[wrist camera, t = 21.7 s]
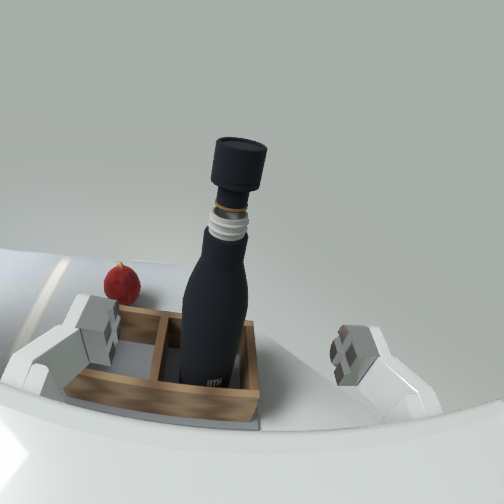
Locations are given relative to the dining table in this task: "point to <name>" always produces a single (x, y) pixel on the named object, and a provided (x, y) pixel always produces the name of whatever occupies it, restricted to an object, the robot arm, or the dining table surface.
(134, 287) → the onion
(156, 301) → the dining table surface
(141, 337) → the wooden divided box
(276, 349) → the dining table surface
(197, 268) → the black water bottle
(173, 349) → the mat
